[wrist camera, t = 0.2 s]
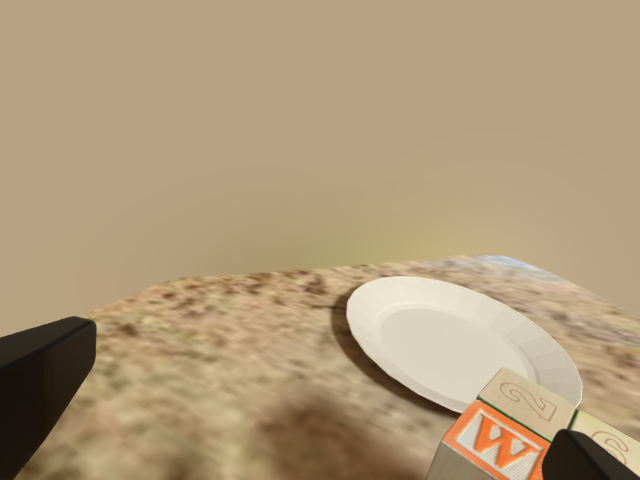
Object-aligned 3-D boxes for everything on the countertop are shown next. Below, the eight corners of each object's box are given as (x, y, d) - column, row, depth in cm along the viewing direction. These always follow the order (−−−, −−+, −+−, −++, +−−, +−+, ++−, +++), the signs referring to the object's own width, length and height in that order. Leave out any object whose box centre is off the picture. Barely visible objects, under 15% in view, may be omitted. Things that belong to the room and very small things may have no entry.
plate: (619, 407, 38) (631, 387, 37) (450, 486, 27) (462, 460, 26) (450, 285, 54) (456, 269, 53) (301, 304, 43) (305, 285, 42)
